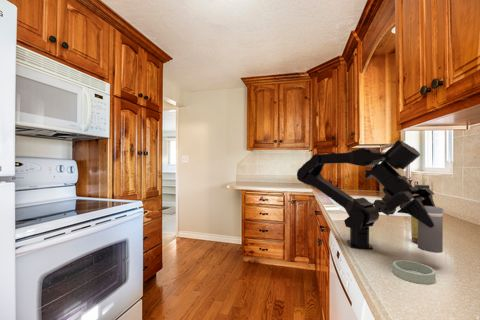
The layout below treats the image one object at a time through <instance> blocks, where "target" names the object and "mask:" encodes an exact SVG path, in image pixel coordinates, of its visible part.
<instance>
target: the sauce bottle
mask: <svg viewBox="0 0 480 320" xmlns="http://www.w3.org/2000/svg"><path fill="white" fill-rule="evenodd" d="M414 187H417V188H418V189H422V188H428V189H430V185H429V184H414ZM410 217H411V218H410V220H411V221H410V222H411V227H410V228H411V230H410V231H411V241H412V242H413V243H416V244H418V220H417V219H416V218H414V217H413V216H411V215H410Z"/></svg>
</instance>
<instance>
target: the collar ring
mask: <svg viewBox="0 0 480 320" xmlns="http://www.w3.org/2000/svg"><path fill="white" fill-rule="evenodd" d="M408 270H410V271H408ZM412 271H416V272H412ZM417 272H420V273H417ZM392 273H393V274H394V275H395V276H396V277H399V278H400V279H402V280H404V281H408V282H412V283H415V284H422V285H430V284H436V270H435V269H434V268H432V267H431V266H429V265H426V264H423V263H421V262H419V261H417V262H416V261H413V260H405V259H404V260H403V259H399V260H394V261H393V262H392Z"/></svg>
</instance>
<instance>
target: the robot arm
mask: <svg viewBox="0 0 480 320" xmlns="http://www.w3.org/2000/svg"><path fill="white" fill-rule="evenodd" d="M420 156H421V153H420V152H419V151H418V150H417V149H416V148H415V147H413V146H410V144H408V143H406V142H404V141H403V140H399V139H397V140H396V141H395V142H394V143H393V145H392V146H391V147H390V148H389V149H388V150H387V151H386V152H383V151H379V150H378V149H376V148H367V147H362V148H358V149H354V150H351V151H347V152H338V153H315V154H313V155H312V156H311V157H310V159H309V160H308V161H306V162H305V163H303V164H302V166H301V167H300V168H298V169H297V172H296V177H297V180H298V181H299V182H301V183H302V184H305V185H307V186H311V187H314V188H315V189H317V190H319V191H320V192H321V193H323V194H324V195H325V196H326V197H328V198H330V199H331V200H333V202H335V203H337V204H338V205H339V206H341V207H342V208H343V209H344V210H345V212H346V213H347V215H348V217H347V218H345V219H344V220H343V222H344V225H345V227H346V228H349V239H347V240H346V242H347V243H348V245H349V246H350V247H351V248H352V249H353V248H356V249H367V250H368V249H369V250H373V249H374V247H373V245H371V243H370V227H373V226H374V224H375V222H377V221H378V220H379V218H380V213H383V214H384V215H386V216H390V215H394V214H395V213H398V214H407V215H409V216H410V217H411V216H413V217H414V218H416V219H417V220H419V221H420V222H422V223H423V224H425V225H427V226H428V227H430V228H432V227H433V226H434V224H433V222H432V220H431V218H430V216H429V214H428V213H427V211H426V209H425V207H424V206H433V207H436V205H435V202H434V200H433V199H434V198H433V195H434V194H435V192H434V191H432V189H430V188H429V189H428V188H422V189H418V188H417V187H415V186H413V185H412V184H411V183H410V182H409V181H407V179H408V177H406V175H402V174H400V173H399V172H398V171H397V170H398V169H401V170H404V169H406V168H408V166H410V165H411V163H413V162H414V161H415V160H417V158H419V157H420ZM326 164H328V165H329V164H350V165H353V166H360V167H371V168H370V169H365V175H364V178H365V179H372V178H374V179H375V180H376V181H377V182H378V183H379V184H380V185H381V186H382V192H383V193H384V197H382V198H381V199H375V200H374V201H373V203H372V202H370V201H369V200H368V199H366V198H365V197H358V198H354V197H352V196H351V195H349V193H346V191H345V192H344V190H342V189H340V188H339V187H337V186H336V185H334V184H333V183H331V182H330V181H328V180H326V179H325V178H324V177H323V175H322V173H321V172H322V171H323V168H324V166H325V165H326ZM397 208H399V210H397Z"/></svg>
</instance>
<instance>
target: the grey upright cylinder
mask: <svg viewBox="0 0 480 320" xmlns="http://www.w3.org/2000/svg"><path fill="white" fill-rule="evenodd" d="M424 207H425V209H426V211H427V213H428V214H429V216H430V218H431V220H432V222H433V224H434V226H433V227H432V228H430V227H428V226H427V225H425V224H423V223H422V222H420V221H419V220H418V243H417V249H419V250H421V251H425V252H427V253H428V252H429V253H435V254H436V253H437V254H440V253H443V252H444V251H443V250H444V248H443V247H444V246H443V243H444V242H443V237H444V235H443V232H444V231H443V230H444V229H443V228H444V227H443V226H444V225H443V223H444V222H443V221H444V219H443V218H444V209H443V208H442V207H438V206H435V207H433V206H424Z"/></svg>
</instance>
